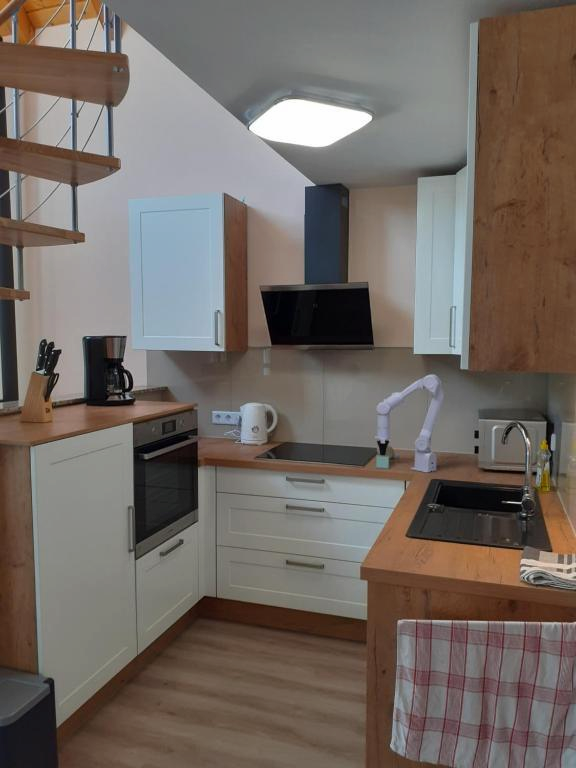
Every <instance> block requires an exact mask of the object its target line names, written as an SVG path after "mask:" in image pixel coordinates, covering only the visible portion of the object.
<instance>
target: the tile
mask: <svg viewBox="0 0 576 768" xmlns="http://www.w3.org/2000/svg"><path fill="white" fill-rule="evenodd" d="M375 469H380V470H381V469H382V470H389V469H390V459H389V456H386V455H378V454H376V455H375Z"/></svg>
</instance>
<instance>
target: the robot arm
mask: <svg viewBox="0 0 576 768" xmlns="http://www.w3.org/2000/svg"><path fill="white" fill-rule="evenodd" d="M424 389H426V390H427V391H429V393H430V395H431V397H432V398H431V402H430V405H429V407H428V411H427V413H426V417H425V419H424V423H423V426H422V429H421V431H420V433H419V436H418V437H417V439H415V441H414V447H415V449H414V465H413V466H414V467H410V470H413V471H418V472H423V473H431V471H432V472H435V471H438V469H437V454H436V453H435V452H432V449H431V448H430V446H431V445H432V435H433V430H434V429H435V425H436V421H437V418H438V416H439V413H440V410H441V407H442V404H443V401H444V398H445V391H444V389H443V385H442V381H441V379H440V378H439V376H437V375H436V374H433V373H432V374H428V375H426V376H424V377H422V378H420V379H418V380H416V381H414V382H413V383H412V384H410V385H409V386H408V387H406V388H405V389H404V390H402V391H401V392H397V391H395V392H392V393H391V395H390V396H389V397H387V398H384V399H383V401H382V402H379V404H377V406H376V411H377V419H376V420H377V424H376V425H377V427H376V435H375V436H374V439H377V440H376V443H377V444H376V445H377V447H378V446H379V451H380V455H385V454H386V449H387V446H388V444H390V422H391V421H390V420H391V418H390V412H391V411H392V410H394V409H396V408H397V407H399V406H400V405H401V404H403V403H405V398H407V397H409V396H410V395H411V394H413V393H415V392H416V391H418V390H424Z"/></svg>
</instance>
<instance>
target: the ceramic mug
mask: <svg viewBox="0 0 576 768" xmlns="http://www.w3.org/2000/svg"><path fill="white" fill-rule="evenodd" d="M376 452H377V455H380V451H379V446H378V445H377V447H376ZM385 455H386V456H389V460H390V459H392V458H394V459H399V458H400V455H399V454H397V453H395V451H394V448H393V447H392V445H391V444H390V443H389V444H388V446H387V449H386V454H385Z"/></svg>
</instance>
